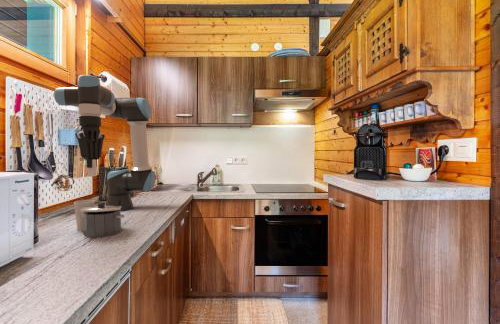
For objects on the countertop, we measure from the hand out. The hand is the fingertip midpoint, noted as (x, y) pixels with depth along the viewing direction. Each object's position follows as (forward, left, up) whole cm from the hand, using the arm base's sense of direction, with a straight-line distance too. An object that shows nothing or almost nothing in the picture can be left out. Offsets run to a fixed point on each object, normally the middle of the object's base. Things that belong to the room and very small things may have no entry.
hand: (92, 175), depth 110 cm
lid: (-5, 0, -14) cm, 15 cm away
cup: (-9, -13, -24) cm, 29 cm away
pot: (-5, 0, -24) cm, 25 cm away
